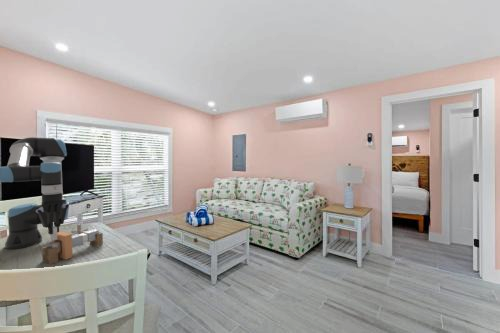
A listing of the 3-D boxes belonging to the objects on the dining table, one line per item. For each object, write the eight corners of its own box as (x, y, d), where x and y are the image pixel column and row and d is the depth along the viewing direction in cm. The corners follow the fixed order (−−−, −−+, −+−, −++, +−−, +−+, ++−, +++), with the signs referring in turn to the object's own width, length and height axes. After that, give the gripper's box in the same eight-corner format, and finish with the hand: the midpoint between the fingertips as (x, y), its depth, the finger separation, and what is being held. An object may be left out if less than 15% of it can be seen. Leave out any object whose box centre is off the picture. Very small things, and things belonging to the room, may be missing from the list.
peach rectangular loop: (52, 255, 112) (51, 232, 111) (58, 252, 115) (58, 230, 114) (65, 259, 107) (64, 236, 107) (72, 256, 110) (71, 234, 110)
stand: (42, 261, 106) (41, 247, 106) (95, 242, 130) (94, 231, 129) (50, 264, 104) (50, 250, 103) (102, 244, 127) (102, 232, 127)
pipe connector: (78, 244, 127) (77, 227, 126) (64, 242, 129) (64, 226, 128) (93, 237, 137) (93, 222, 136) (80, 236, 139) (80, 221, 138)
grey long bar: (47, 252, 107) (46, 242, 107) (93, 237, 128) (93, 229, 127) (52, 254, 105) (52, 244, 105) (98, 238, 126) (98, 230, 125)
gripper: (39, 196, 99) (41, 245, 100) (71, 191, 111) (73, 236, 112) (30, 194, 102) (33, 243, 103) (63, 190, 114) (65, 234, 115)
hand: (54, 239), depth 108 cm, fingers closed
